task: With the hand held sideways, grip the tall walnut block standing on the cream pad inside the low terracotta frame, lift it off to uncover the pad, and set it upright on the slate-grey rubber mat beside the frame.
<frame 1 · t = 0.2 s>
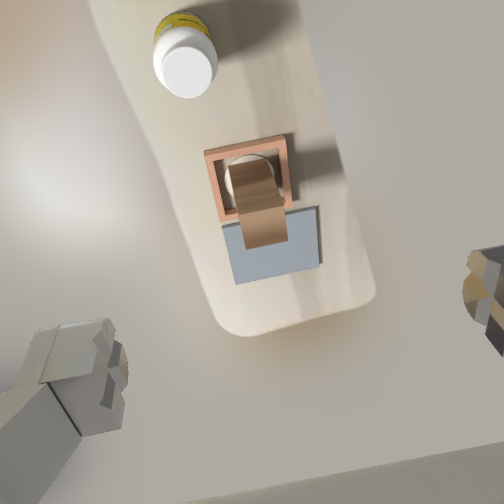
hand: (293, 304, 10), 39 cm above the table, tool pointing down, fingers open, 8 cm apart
rubber mat: (272, 246, 60), on the table
walnut block: (249, 178, 52), resting on terracotta frame
supplement bottle: (183, 40, 42), on the table
terracotta frame: (249, 177, 53), on the table
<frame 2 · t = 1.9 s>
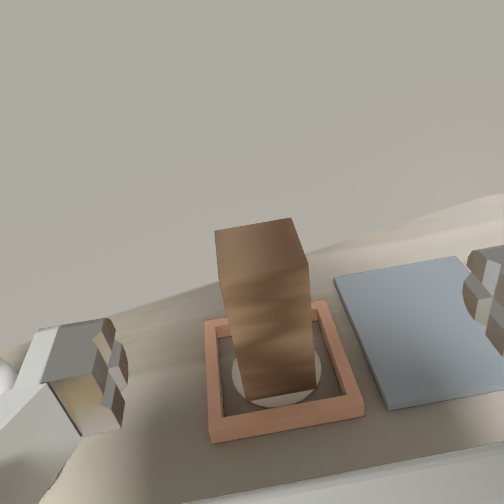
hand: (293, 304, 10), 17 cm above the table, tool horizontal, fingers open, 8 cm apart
rubber mat: (426, 324, 31), on the table
walnut block: (275, 367, 30), resting on terracotta frame
supplement bottle: (22, 472, 26), on the table
terracotta frame: (276, 369, 30), on the table
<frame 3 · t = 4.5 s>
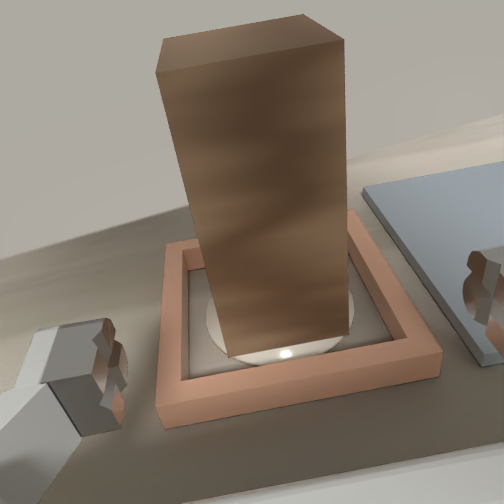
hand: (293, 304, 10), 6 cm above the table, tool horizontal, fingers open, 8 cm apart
walnut block: (278, 305, 18), resting on terracotta frame
terracotta frame: (278, 308, 18), on the table
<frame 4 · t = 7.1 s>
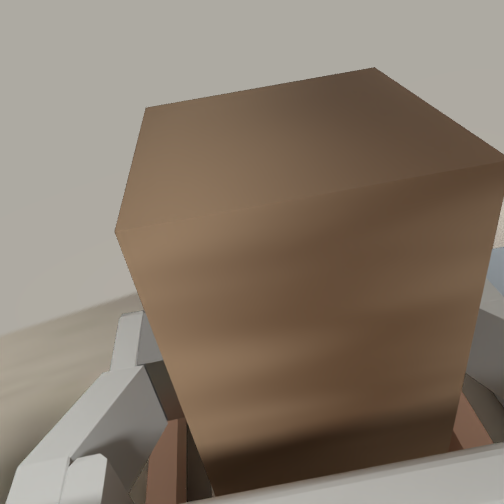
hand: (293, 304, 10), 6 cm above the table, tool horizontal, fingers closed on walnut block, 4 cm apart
walnut block: (315, 468, 13), resting on terracotta frame, touching gripper
terracotta frame: (316, 472, 13), on the table
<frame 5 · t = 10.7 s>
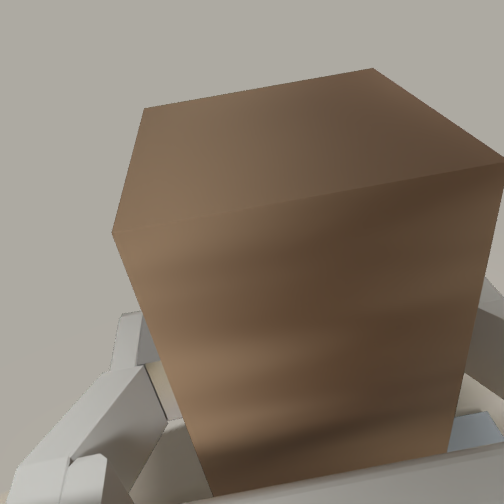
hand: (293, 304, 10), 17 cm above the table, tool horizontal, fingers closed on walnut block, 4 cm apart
walnut block: (314, 469, 13), point 12 cm above the table, touching gripper
when the fingers open (8 cm above the table, at t = 14.3 s): walnut block drops 1 cm, resting on rubber mat.
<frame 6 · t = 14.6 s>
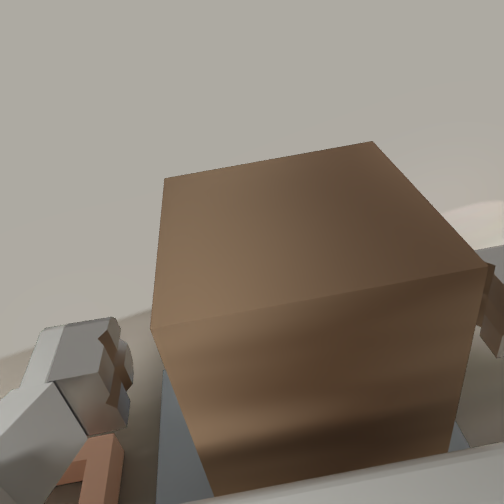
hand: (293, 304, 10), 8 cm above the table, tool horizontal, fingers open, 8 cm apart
walnut block: (318, 495, 13), point 1 cm above the table, touching rubber mat
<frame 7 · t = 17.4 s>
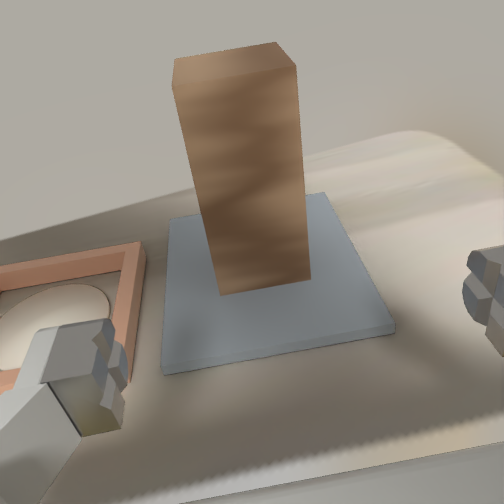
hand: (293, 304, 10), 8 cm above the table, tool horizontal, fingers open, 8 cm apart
rubber mat: (261, 269, 24), on the table
walnut block: (259, 260, 24), point 1 cm above the table, touching rubber mat
terracotta frame: (50, 325, 22), on the table
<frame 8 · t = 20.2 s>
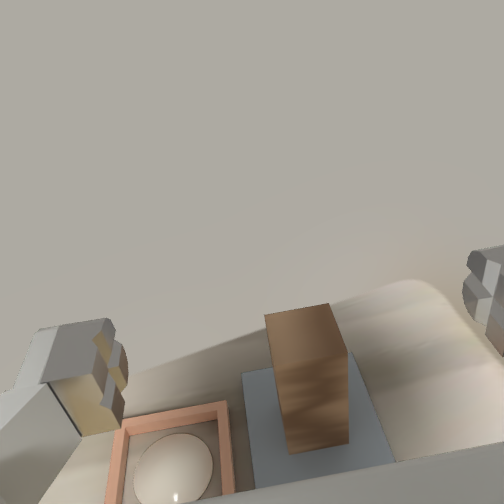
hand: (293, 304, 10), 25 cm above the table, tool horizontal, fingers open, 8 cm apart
rubber mat: (312, 426, 35), on the table
walnut block: (312, 422, 35), point 1 cm above the table, touching rubber mat
terracotta frame: (173, 471, 33), on the table
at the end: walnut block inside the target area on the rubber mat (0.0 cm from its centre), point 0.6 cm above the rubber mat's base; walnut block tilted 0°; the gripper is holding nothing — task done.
